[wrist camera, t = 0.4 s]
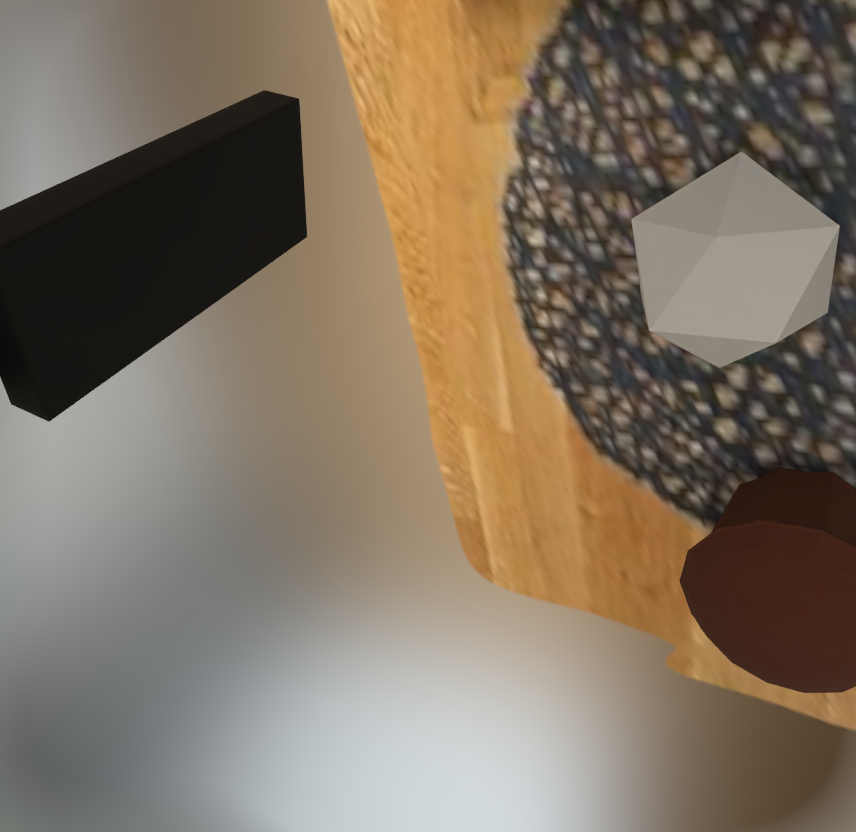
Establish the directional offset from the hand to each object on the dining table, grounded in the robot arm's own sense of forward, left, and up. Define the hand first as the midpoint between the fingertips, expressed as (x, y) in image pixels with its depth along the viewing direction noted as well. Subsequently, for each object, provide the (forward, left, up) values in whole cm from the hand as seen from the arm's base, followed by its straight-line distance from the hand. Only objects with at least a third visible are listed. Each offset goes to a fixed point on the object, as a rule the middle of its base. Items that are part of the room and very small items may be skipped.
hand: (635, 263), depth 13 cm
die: (+11, 0, -27) cm, 29 cm away
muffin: (+28, +8, -27) cm, 40 cm away
